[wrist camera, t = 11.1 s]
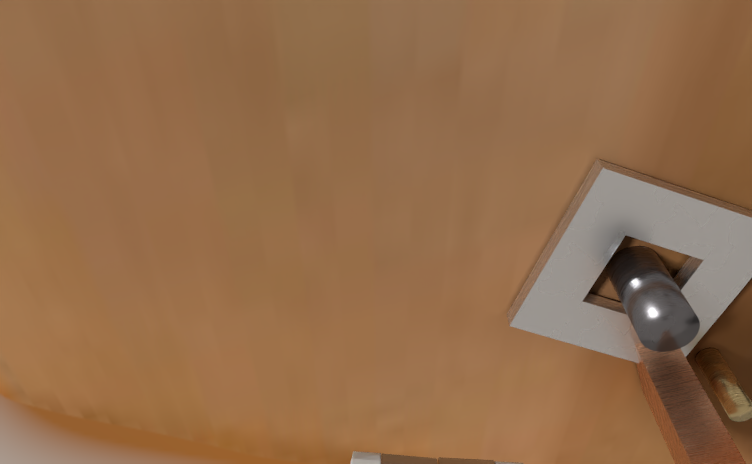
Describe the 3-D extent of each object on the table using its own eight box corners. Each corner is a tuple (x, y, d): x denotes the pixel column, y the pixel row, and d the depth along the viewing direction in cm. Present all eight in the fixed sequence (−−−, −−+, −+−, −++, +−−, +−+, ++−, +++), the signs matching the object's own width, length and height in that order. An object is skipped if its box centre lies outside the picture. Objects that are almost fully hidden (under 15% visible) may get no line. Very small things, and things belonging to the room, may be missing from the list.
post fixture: (676, 228, 36) (720, 288, 31) (722, 360, 42) (766, 429, 37) (600, 258, 38) (631, 320, 33) (654, 382, 43) (688, 452, 38)
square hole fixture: (596, 158, 34) (670, 272, 24) (808, 229, 36) (951, 360, 26) (487, 347, 42) (511, 488, 32) (665, 397, 43) (737, 545, 34)
